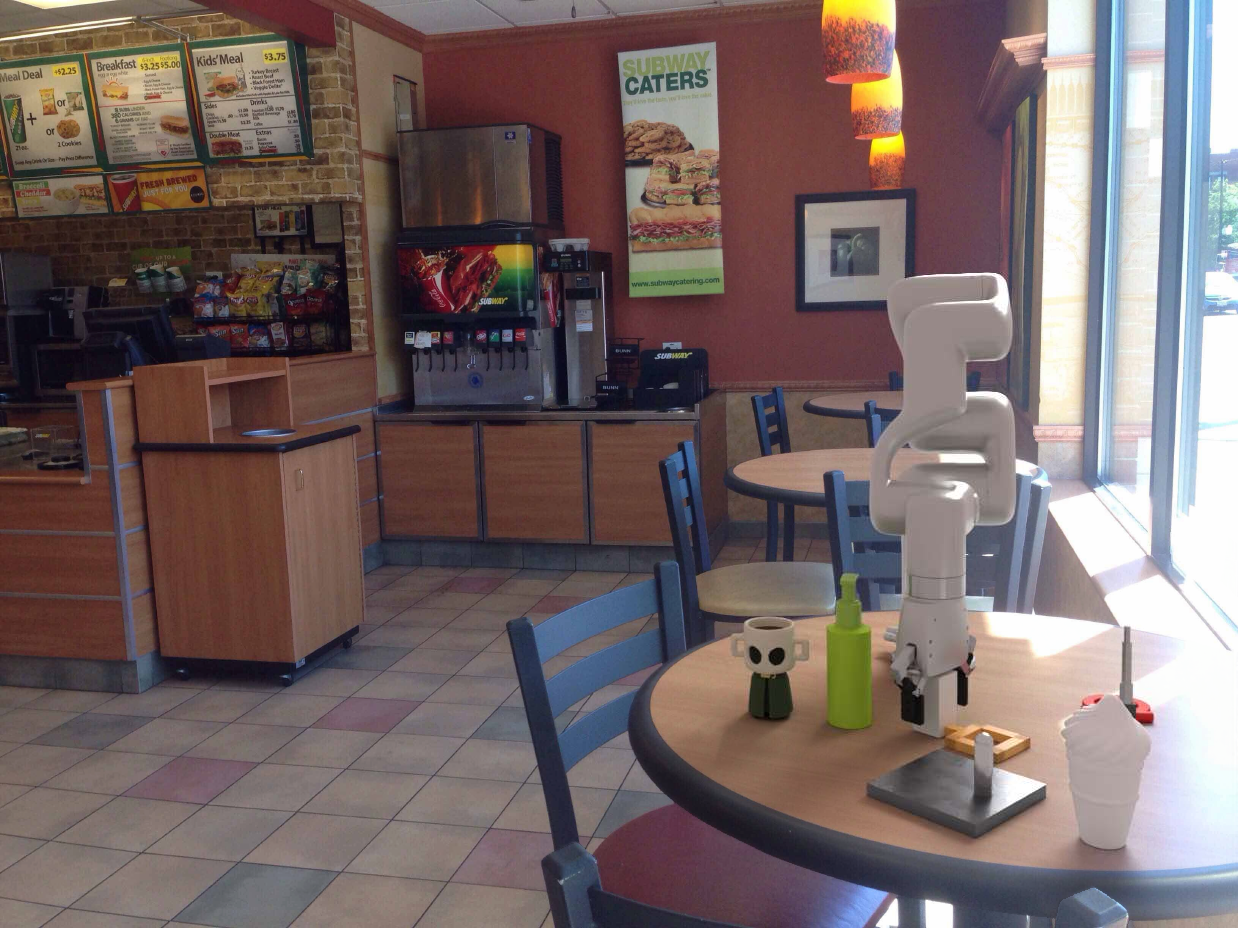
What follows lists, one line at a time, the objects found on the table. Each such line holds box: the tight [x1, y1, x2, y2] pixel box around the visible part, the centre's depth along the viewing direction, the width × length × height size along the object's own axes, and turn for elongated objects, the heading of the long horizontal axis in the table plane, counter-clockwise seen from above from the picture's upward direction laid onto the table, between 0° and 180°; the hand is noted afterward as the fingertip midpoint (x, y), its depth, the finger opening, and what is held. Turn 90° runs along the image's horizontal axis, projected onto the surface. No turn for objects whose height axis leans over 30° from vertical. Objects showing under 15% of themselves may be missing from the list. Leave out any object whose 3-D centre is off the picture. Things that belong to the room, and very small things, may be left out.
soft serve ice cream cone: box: [1060, 692, 1152, 850], centre depth 108 cm, size 8×8×16 cm
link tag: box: [912, 669, 1031, 764], centre depth 136 cm, size 13×7×8 cm, turn 39°
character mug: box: [730, 616, 810, 719], centre depth 147 cm, size 11×7×13 cm, turn 72°
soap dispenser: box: [825, 572, 873, 730], centre depth 143 cm, size 6×7×20 cm
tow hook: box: [1081, 625, 1155, 723], centre depth 143 cm, size 8×13×9 cm
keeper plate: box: [866, 732, 1047, 839], centre depth 120 cm, size 14×14×8 cm
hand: (934, 712), depth 139 cm, fingers open, 9 cm apart
